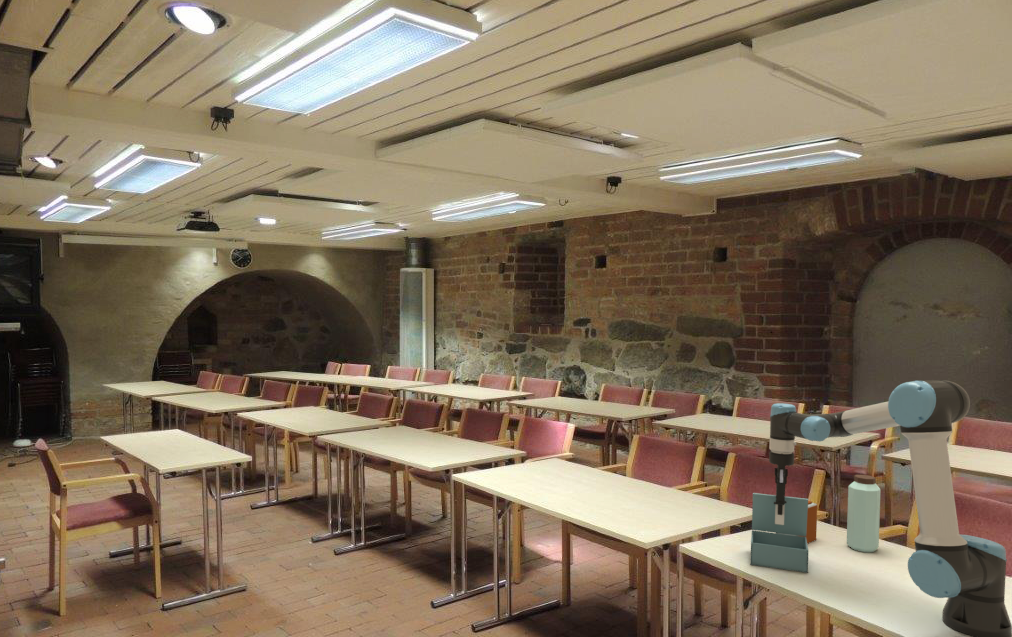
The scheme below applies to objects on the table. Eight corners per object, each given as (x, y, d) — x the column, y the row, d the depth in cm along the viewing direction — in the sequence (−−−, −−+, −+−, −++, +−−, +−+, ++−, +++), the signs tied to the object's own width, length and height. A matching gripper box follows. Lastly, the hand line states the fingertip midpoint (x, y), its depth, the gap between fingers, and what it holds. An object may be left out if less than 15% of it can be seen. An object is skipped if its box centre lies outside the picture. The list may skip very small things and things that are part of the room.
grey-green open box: (807, 572, 219) (808, 550, 219) (750, 564, 225) (750, 542, 225) (805, 558, 232) (806, 537, 232) (751, 550, 238) (751, 530, 238)
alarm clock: (795, 533, 258) (796, 496, 258) (818, 539, 252) (819, 502, 252) (774, 541, 249) (775, 503, 249) (797, 547, 242) (798, 508, 242)
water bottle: (839, 545, 246) (842, 474, 245) (859, 542, 250) (861, 472, 249) (865, 555, 237) (867, 481, 236) (885, 551, 241) (887, 478, 240)
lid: (808, 499, 228) (808, 498, 228) (752, 493, 234) (752, 492, 234) (806, 536, 232) (806, 535, 233) (751, 529, 238) (751, 528, 238)
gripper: (795, 456, 220) (792, 531, 220) (793, 448, 232) (791, 519, 232) (769, 454, 222) (767, 528, 223) (769, 446, 234) (767, 516, 235)
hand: (779, 523), depth 227 cm, fingers closed
